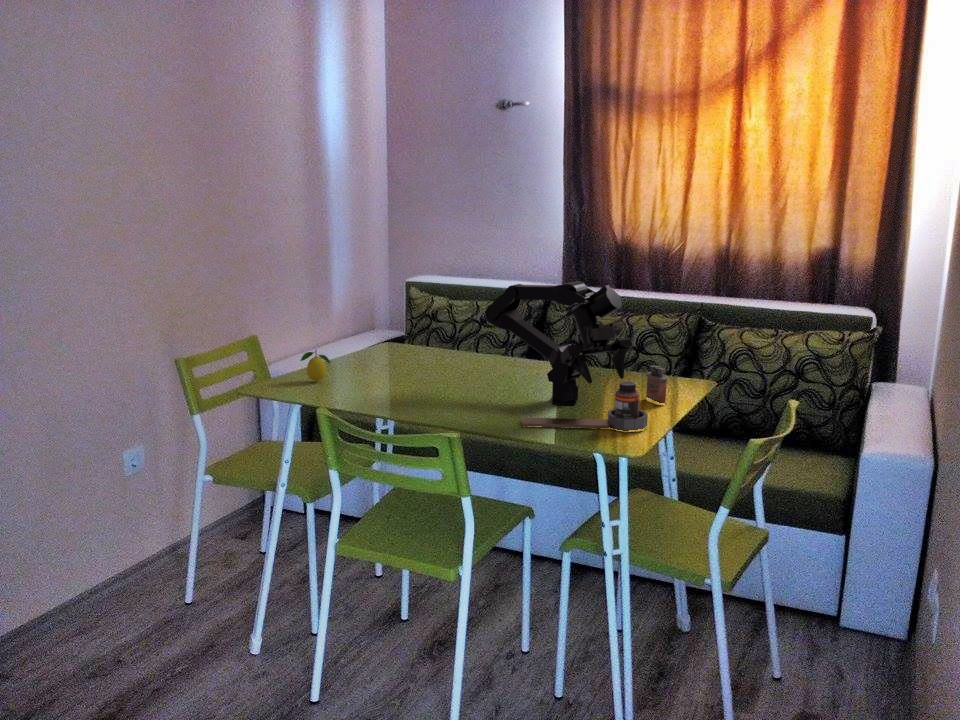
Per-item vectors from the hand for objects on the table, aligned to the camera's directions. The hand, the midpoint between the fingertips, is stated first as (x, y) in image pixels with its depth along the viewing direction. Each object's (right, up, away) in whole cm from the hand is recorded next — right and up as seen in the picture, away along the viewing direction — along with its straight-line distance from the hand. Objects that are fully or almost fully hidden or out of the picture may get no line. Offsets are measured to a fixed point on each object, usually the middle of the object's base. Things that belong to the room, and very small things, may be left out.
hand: (606, 380), depth 235 cm
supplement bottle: (+4, -11, -6) cm, 13 cm away
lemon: (-80, -1, +33) cm, 86 cm away
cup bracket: (-6, -11, -5) cm, 14 cm away
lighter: (+15, -6, +16) cm, 23 cm away
